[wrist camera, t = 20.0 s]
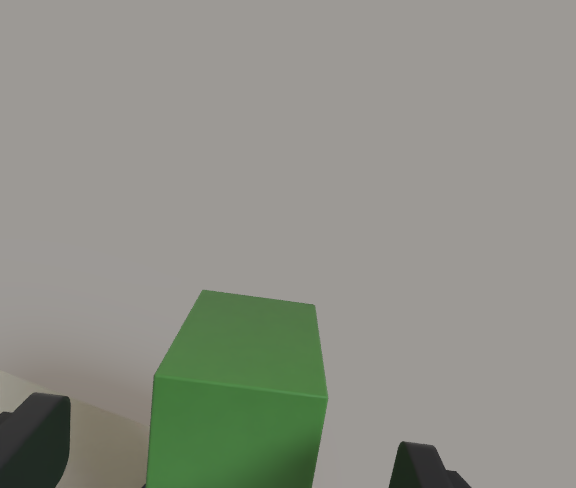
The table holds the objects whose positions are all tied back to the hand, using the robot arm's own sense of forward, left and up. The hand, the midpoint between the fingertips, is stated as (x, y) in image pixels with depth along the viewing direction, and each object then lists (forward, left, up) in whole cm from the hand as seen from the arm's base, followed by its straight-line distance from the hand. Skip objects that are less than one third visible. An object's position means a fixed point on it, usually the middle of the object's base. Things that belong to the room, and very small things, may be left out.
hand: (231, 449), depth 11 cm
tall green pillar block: (+2, -5, -14) cm, 16 cm away
